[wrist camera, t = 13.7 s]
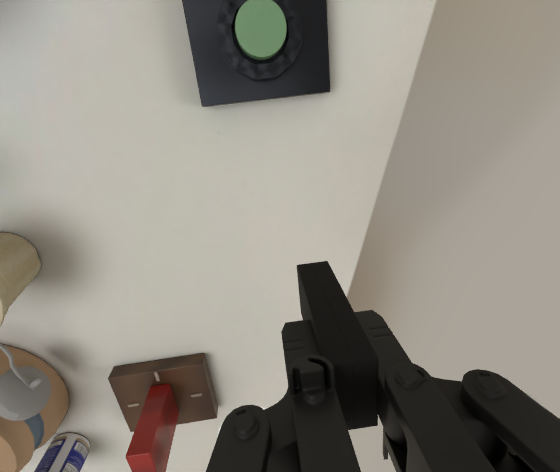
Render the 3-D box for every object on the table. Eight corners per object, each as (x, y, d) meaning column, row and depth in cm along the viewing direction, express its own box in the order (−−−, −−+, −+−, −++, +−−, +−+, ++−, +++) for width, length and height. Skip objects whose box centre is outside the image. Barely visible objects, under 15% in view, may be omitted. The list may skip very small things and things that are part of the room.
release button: (281, 1, 25) (283, -7, 24) (286, 57, 27) (289, 54, 25) (232, 6, 25) (230, -1, 23) (239, 62, 27) (239, 59, 25)
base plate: (204, 352, 42) (202, 364, 40) (218, 405, 46) (216, 419, 44) (113, 366, 41) (107, 379, 39) (135, 419, 45) (130, 433, 43)
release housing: (319, -32, 28) (330, -54, 24) (325, 92, 31) (335, 90, 28) (182, -18, 27) (171, -39, 23) (205, 106, 31) (199, 106, 27)
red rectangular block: (150, 385, 41) (124, 459, 32) (169, 383, 41) (148, 455, 32) (160, 415, 43) (138, 492, 34) (179, 412, 43) (161, 488, 34)
